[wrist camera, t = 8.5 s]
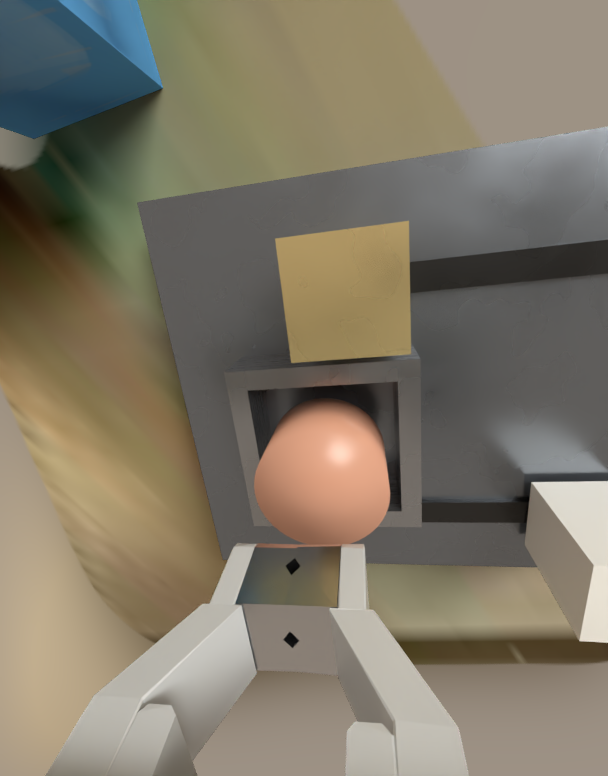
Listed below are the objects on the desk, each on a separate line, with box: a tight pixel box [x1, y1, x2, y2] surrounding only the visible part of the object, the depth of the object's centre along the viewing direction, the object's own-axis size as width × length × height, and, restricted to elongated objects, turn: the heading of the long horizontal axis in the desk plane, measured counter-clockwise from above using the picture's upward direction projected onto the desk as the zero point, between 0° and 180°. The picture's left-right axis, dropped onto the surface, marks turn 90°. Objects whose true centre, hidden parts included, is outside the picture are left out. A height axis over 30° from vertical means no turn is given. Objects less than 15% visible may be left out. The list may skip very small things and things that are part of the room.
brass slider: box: [275, 221, 411, 363], centre depth 11 cm, size 3×3×4 cm
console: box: [137, 127, 608, 567], centre depth 14 cm, size 20×16×5 cm
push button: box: [254, 398, 390, 544], centre depth 12 cm, size 4×4×2 cm
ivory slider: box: [525, 481, 608, 643], centre depth 12 cm, size 3×3×4 cm
